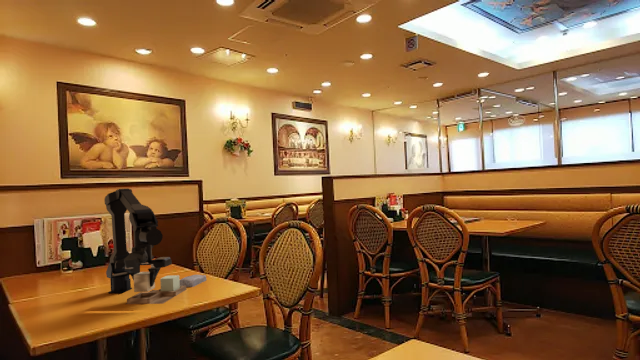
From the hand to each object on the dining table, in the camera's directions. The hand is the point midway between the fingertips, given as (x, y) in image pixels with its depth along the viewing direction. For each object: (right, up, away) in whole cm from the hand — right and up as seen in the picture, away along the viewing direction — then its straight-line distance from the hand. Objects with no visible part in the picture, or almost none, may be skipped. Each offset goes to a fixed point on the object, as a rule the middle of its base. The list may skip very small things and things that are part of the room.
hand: (144, 286), depth 140 cm
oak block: (0, -1, 0) cm, 1 cm away
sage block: (+6, -5, +8) cm, 11 cm away
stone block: (+9, -6, +22) cm, 24 cm away
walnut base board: (+3, -5, +4) cm, 7 cm away
